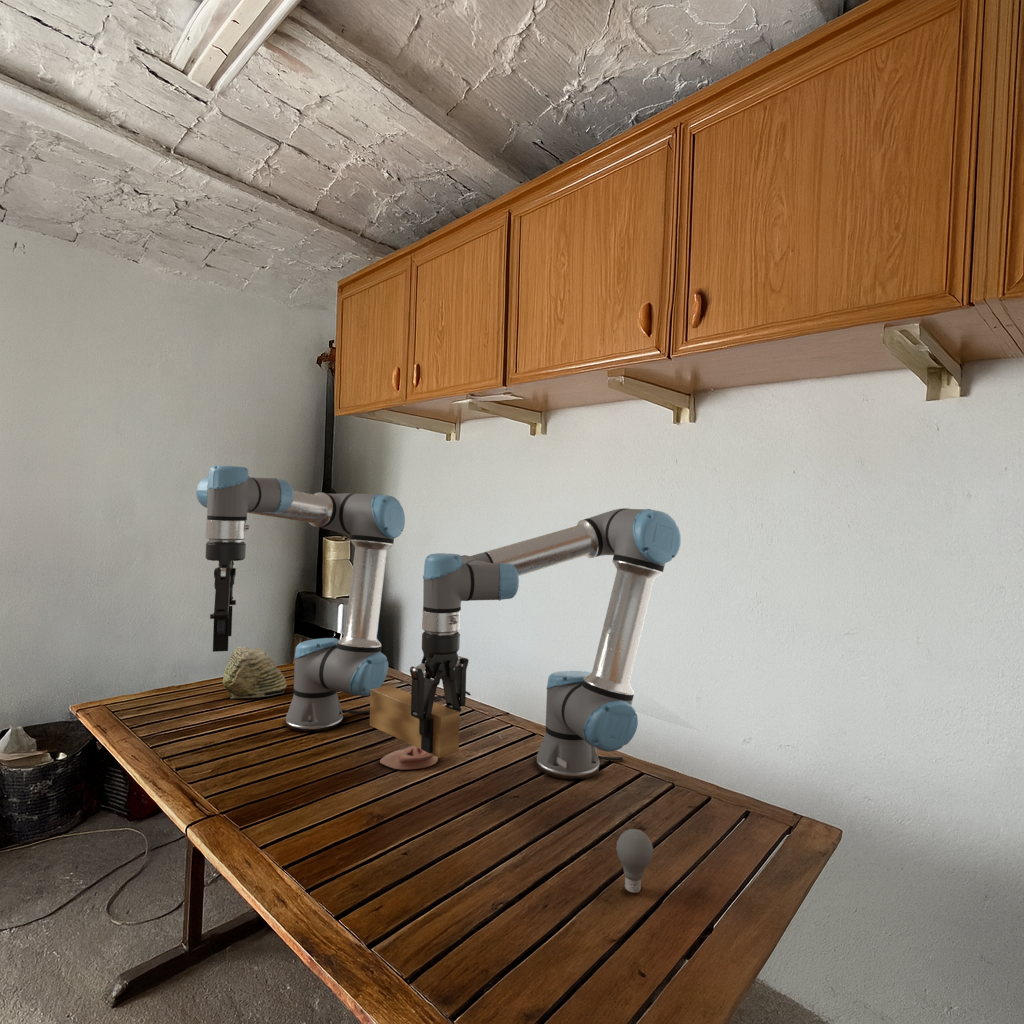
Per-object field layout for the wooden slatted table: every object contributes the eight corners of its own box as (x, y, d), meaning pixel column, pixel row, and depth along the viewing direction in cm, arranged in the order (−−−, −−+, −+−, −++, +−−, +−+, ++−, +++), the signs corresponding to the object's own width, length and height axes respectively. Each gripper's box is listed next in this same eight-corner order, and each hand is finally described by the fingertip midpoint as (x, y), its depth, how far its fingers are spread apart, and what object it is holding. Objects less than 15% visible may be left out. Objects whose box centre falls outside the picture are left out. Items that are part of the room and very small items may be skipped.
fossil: (218, 695, 195) (220, 647, 195) (278, 685, 208) (279, 640, 207) (228, 703, 189) (230, 653, 188) (289, 692, 201) (290, 645, 201)
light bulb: (610, 879, 108) (613, 822, 108) (644, 879, 109) (647, 822, 109) (619, 902, 102) (622, 840, 102) (655, 901, 103) (658, 840, 103)
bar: (369, 725, 139) (370, 689, 139) (387, 720, 142) (388, 684, 142) (440, 758, 123) (441, 717, 122) (458, 751, 126) (459, 711, 126)
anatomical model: (374, 749, 149) (393, 732, 160) (374, 766, 149) (393, 748, 161) (428, 756, 147) (443, 739, 158) (427, 774, 147) (443, 754, 158)
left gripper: (244, 546, 120) (240, 657, 121) (247, 536, 143) (244, 630, 144) (200, 545, 118) (196, 659, 118) (210, 536, 141) (207, 631, 141)
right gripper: (417, 641, 117) (413, 765, 118) (486, 628, 130) (482, 740, 131) (392, 634, 122) (389, 753, 123) (461, 622, 135) (458, 730, 136)
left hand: (222, 643), depth 131 cm, fingers open, 13 cm apart
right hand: (437, 746), depth 127 cm, fingers closed on bar, 5 cm apart
